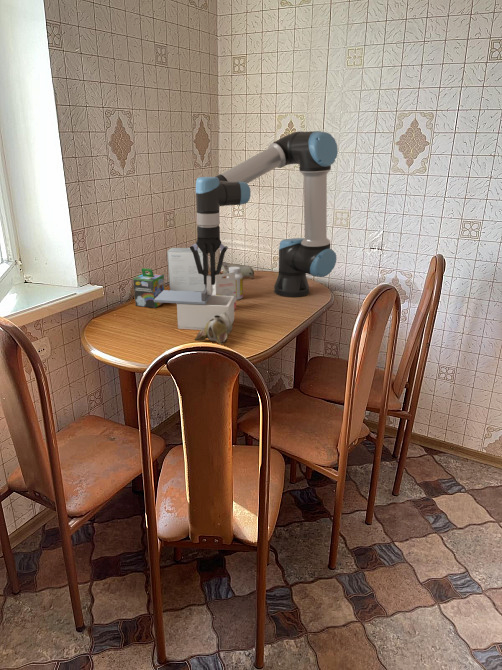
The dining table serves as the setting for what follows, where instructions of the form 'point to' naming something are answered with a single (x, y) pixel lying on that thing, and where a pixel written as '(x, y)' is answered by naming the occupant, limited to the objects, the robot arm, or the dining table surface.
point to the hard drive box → (184, 270)
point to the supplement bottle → (237, 281)
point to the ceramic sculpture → (216, 329)
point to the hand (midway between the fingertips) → (209, 293)
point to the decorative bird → (243, 269)
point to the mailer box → (204, 312)
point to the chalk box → (148, 288)
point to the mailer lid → (183, 297)
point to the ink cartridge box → (225, 286)
